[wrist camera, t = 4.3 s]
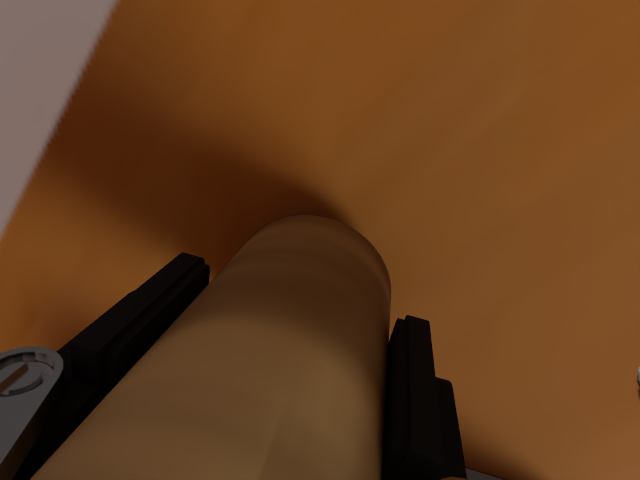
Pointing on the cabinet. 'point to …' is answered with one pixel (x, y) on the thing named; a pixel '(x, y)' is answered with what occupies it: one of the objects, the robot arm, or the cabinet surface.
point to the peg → (256, 372)
